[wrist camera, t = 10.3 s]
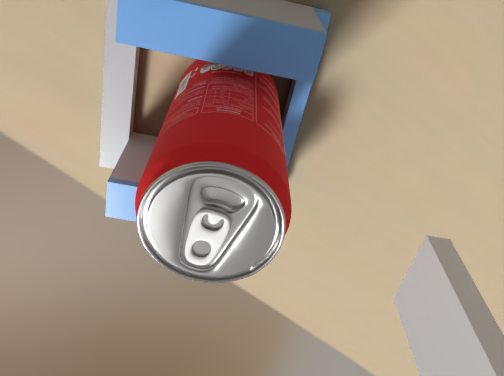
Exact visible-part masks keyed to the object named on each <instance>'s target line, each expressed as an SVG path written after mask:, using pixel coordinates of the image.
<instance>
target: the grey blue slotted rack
mask: <svg viewBox="0 0 504 376" xmlns="http://www.w3.org/2000/svg"><path fill="white" fill-rule="evenodd" d="M330 19H331V14H330V13H329V11H328V10H324V9H319V8H315V7H311V6H306V5H302V4H297V3H293V2H289V1H284V0H107V7H106V29H105V51H104V73H103V95H102V117H101V139H100V161H99V166H101V167H106V168H112V169H114V170H113V172H112V174H111V176H110V178H109V180H108V182H107V197H106V215H105V216H106V217H112V218H119V219H124V220H130V221H136V222H137V217H136V211H135V197H136V191H137V187H138V185H139V182H140V179H141V177H142V174H143V172H144V170H145V167H146V165H147V162H148V160H149V157H150V155H151V152H152V150H153V147H154V145H155V142H156V140H157V138H158V137H157V136H152V135H146V134H141V133H136V132H133V123H134V112H135V100H136V88H137V76H138V65H139V53H140V47H141V48H146V49H151V50H155V51H160V52H165V53H170V54H174V55H179V56H184V57H189V58H194V59H198V60H203V61H208V62H213V63H217V64H222V65H227V66H232V67H237V68H241V69H246V70H251V71H256V72H260V73H265V74H270V75H275V76H280V77H284V78H289V79H293V80H292V84H291V88H290V92H289V95H288V99H287V103H286V107H285V110H284V114H283V118H282V122H281V124H282V132H283V141H284V149H285V157H286V165H287V167H288V164H289V160H290V157H291V154H292V150H293V147H294V143H295V140H296V136H297V133H298V129H299V126H300V123H301V119H302V116H303V112H304V109H305V105H306V102H307V99H308V95H309V92H310V88H311V85H312V83H313V82H314V79H315V76H316V72H317V69H318V65H319V62H320V58H321V55H322V52H323V48H324V45H325V41H326V38H327V30H328V26H329V23H330Z"/></svg>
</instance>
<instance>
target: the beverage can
mask: <svg viewBox="0 0 504 376" xmlns="http://www.w3.org/2000/svg"><path fill="white" fill-rule="evenodd" d="M135 211H136V217H137V227H138V231H139V235H140V238H141V240H142V243H143V245H144V246H145V248H146V250H147V251H148V253H149V254H150V255H151V256H152V257H153V258H154V259H155V260H156V261H157V262H158V263H159V264H160V265H162V266H163V267H164V268H166V269H167V270H169V271H171V272H172V273H174V274H177V275H179V276H181V277H184V278H187V279H190V280H194V281H199V282H206V283H224V282H231V281H235V280H239V279H243V278H246V277H249V276H252V275H254V274H255V273H257V272H258V271H259V270H261V269H262V268H264V267H265V266H266V265H267V264H268V263H269V262H270V261H271V260H272V259H273V258H274V257H275V255H276V254H277V252H278V251H279V249H280V247H281V245H282V242H283V239H284V236H285V234H286V232H287V230H288V227H289V224H290V219H291V198H290V190H289V182H288V174H287V165H286V157H285V149H284V141H283V132H282V124H281V116H280V108H279V99H278V92H277V88H276V85H275V82H274V80H273V78H272V76H271V75H270V74H265V73H260V72H256V71H251V70H246V69H241V68H237V67H232V66H227V65H222V64H217V63H213V62H208V61H203V60H197V61H195V62H194V63H193V64H192V65H191V66H190V67H189V68H188V69H187V70H186V72H185V73H184V75H183V77H182V79H181V81H180V84H179V86H178V88H177V91H176V93H175V96H174V98H173V101H172V103H171V106H170V108H169V111H168V113H167V115H166V118H165V120H164V123H163V125H162V128H161V130H160V133H159V135H158V138H157V140H156V142H155V145H154V147H153V150H152V152H151V155H150V157H149V160H148V162H147V165H146V167H145V170H144V172H143V174H142V177H141V179H140V182H139V185H138V187H137V191H136V197H135Z"/></svg>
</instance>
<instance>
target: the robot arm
mask: <svg viewBox="0 0 504 376" xmlns="http://www.w3.org/2000/svg"><path fill="white" fill-rule="evenodd" d="M393 300H394V302H395V305H396V308H397V311H398V314H399V317H400V320H401V323H402V326H403V329H404V332H405V335H406V338H407V341H408V343H409V346H410V349H411V352H412V355H413V358H414V361H415V364H416V367H417V370H418V373H419V376H504V335H503V333H502V332H501V330H500V328H499V326H498V324H497V323H496V321H495V319H494V317H493V316H492V314H491V312H490V310H489V308H488V307H487V305H486V303H485V301H484V299H483V298H482V296H481V294H480V292H479V290H478V289H477V287H476V285H475V283H474V281H473V280H472V278H471V276H470V274H469V273H468V271H467V269H466V267H465V265H464V264H463V262H462V260H461V258H460V256H459V255H458V253H457V251H456V249H455V247H454V246H453V244H452V242H451V240H450V239H444V238H438V237H433V236H426V238H425V240H424V241H423V243H422V245H421V247H420V249H419V251H418V253H417V254H416V256H415V258H414V260H413V262H412V264H411V266H410V268H409V269H408V271H407V273H406V275H405V277H404V279H403V281H402V282H401V284H400V286H399V288H398V290H397V292H396V294H395V296H394V297H393Z"/></svg>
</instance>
